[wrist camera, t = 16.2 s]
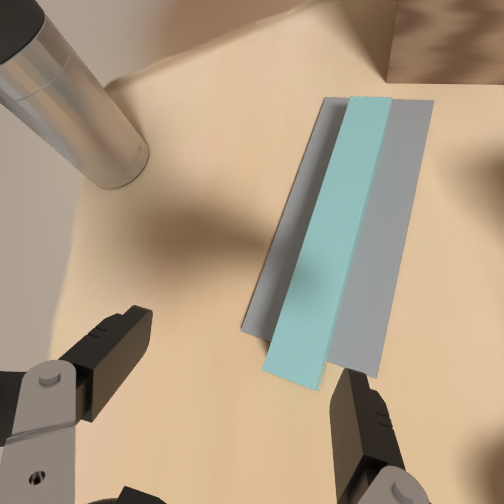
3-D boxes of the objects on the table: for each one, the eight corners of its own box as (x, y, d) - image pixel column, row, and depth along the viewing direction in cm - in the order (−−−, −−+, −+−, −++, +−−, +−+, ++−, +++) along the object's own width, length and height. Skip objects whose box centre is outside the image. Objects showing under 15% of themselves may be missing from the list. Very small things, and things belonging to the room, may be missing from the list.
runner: (242, 331, 29) (240, 330, 28) (325, 100, 38) (325, 97, 38) (376, 378, 24) (376, 378, 24) (432, 104, 34) (434, 100, 33)
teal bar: (272, 373, 26) (262, 369, 23) (349, 126, 35) (350, 96, 31) (318, 391, 25) (315, 390, 21) (386, 128, 33) (392, 97, 30)
